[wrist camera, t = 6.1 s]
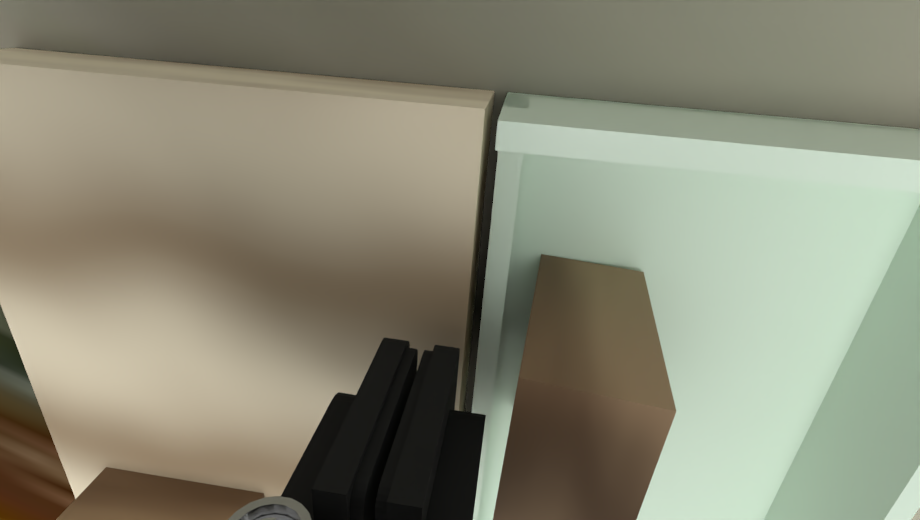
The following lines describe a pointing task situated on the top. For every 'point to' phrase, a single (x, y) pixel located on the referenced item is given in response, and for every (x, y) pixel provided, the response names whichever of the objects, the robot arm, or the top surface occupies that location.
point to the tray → (728, 295)
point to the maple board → (226, 252)
